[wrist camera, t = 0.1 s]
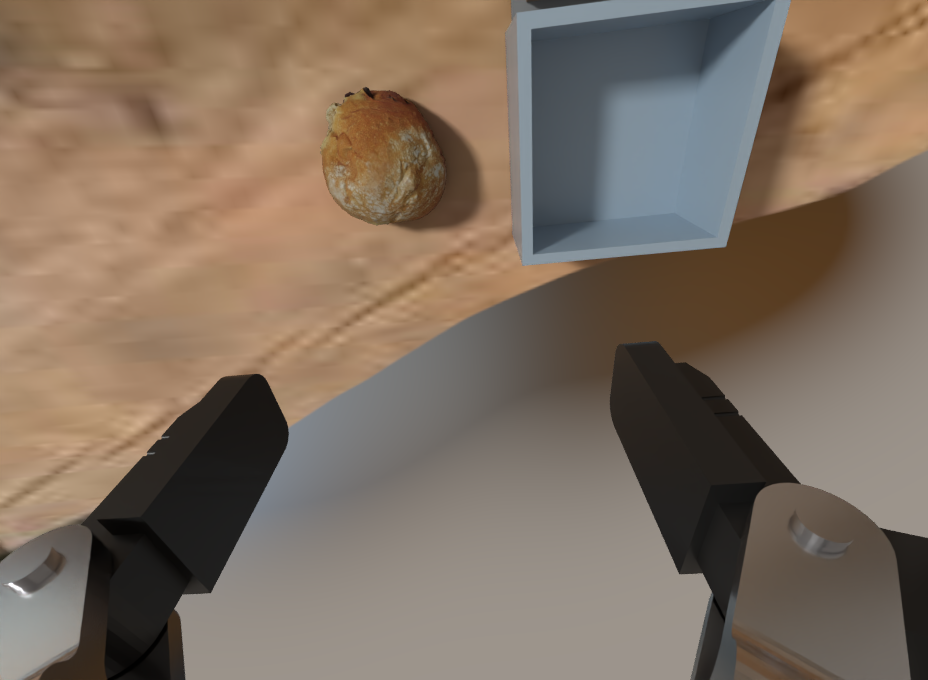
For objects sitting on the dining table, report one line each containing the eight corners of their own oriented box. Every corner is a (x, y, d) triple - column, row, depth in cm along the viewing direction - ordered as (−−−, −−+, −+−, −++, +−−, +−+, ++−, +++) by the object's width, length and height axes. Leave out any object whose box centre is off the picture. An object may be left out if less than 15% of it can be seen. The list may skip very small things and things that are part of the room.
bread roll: (358, 203, 39) (354, 260, 34) (297, 97, 30) (280, 156, 26) (453, 175, 37) (461, 232, 33) (417, 56, 29) (422, 111, 24)
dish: (505, 32, 28) (516, 12, 22) (716, 5, 28) (797, -25, 21) (512, 234, 36) (522, 265, 30) (676, 218, 35) (725, 246, 29)
